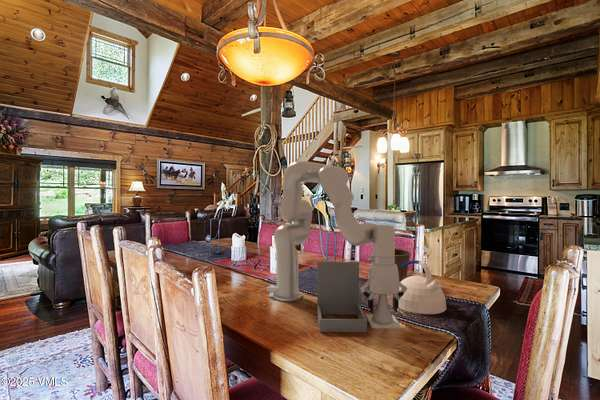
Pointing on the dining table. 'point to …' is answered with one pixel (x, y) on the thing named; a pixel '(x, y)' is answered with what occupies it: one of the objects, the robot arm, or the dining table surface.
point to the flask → (382, 311)
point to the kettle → (422, 293)
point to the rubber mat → (376, 325)
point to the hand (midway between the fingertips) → (383, 309)
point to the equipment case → (339, 296)
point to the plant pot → (402, 262)
